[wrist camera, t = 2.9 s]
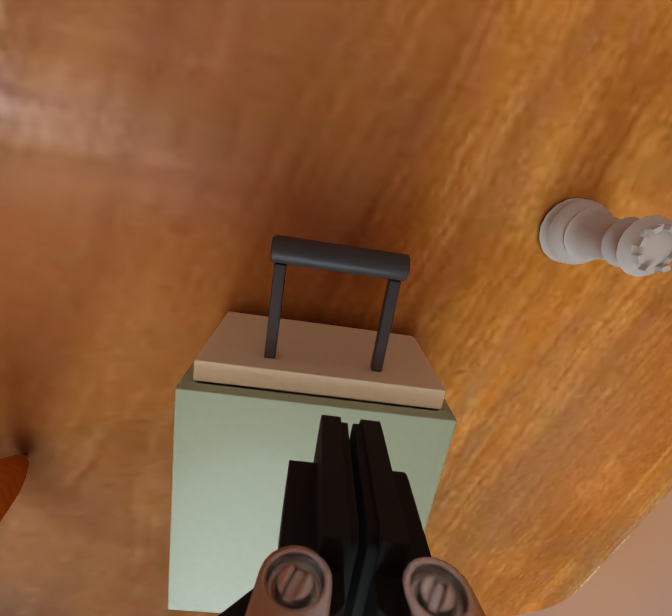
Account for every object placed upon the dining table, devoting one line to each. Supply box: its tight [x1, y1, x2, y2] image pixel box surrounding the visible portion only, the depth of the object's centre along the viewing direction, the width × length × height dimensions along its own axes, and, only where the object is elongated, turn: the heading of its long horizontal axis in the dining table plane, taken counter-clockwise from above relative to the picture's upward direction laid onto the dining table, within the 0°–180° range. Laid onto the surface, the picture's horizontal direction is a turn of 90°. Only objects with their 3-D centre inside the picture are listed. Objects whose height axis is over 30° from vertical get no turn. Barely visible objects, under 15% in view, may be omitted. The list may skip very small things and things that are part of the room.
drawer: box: [193, 235, 446, 409], centre depth 25 cm, size 21×13×8 cm, turn 171°
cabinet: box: [168, 362, 456, 613], centre depth 27 cm, size 16×15×10 cm
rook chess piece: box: [539, 198, 672, 277], centre depth 24 cm, size 4×4×8 cm
